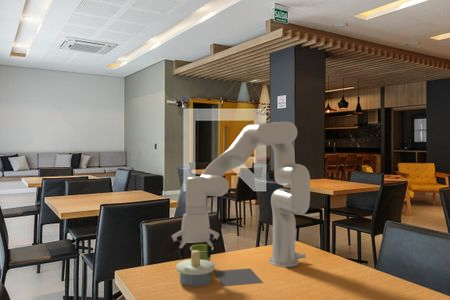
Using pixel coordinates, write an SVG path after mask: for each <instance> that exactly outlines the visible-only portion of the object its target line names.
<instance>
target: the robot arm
mask: <svg viewBox="0 0 450 300" xmlns="http://www.w3.org/2000/svg"><path fill="white" fill-rule="evenodd" d="M297 137H298V129H297V126H296V125H295V124H294V123H293V122H291V121H274V122H263V123H258V122H257V123H250V124H247V125H246V126H245V127H243V129H242V130H241V132H240V133H239V134H238V136H237V137H236V138H235V139H234V141H233V142H232V143H231V145H230V146H229V147H228V148H227V149H226V150H225V151H224V152H223V153H221V154H219V155H218V157H216V158H215V159H214V160H212V161H211V162H209V164H208V166H206V168H205V170H203V171H202V173H201V174H200V176H199V175H196V176H195V175H193V176H189V177H187V178H186V180H185V213H183V215H182V218H181V219H182V220H181V228H180V229H181V230H179V231H176V232H175V233H174V234H172V235H171V239H172V240H173V242H174V244H175V245H176V246H177V247H178V248H179V249H178V250H179V251H178V252H179V253H178V255H179V257H180V258H181V260H184V259H185V249H184V247H185V245H186V244H187V243H188V244H189V243H190V244H192V243H195V244H196V243H207V244H206V245H207V256H208V257H209V258H210V255H211V256H212V254H213V253H212V252H213V250H212V247H214V246H213V245H214V244H215V243H216V242H217V240H218V238H219V237H220V233H219V232H217V231H216V230H213V229H211V228H210V227H211V226H210V218H209V213H208V212H209V211H211V206H207V198H208V196H209V197H222V196H224V195H226V194H227V192H228V191H229V188H230V185H229V184H230V183H229V181H228V179H226V178H225V177H224V175H225V174H226V173H228V172H229V171H232V170H233V169H236V168H239V167H241V166H242V165H245V163H246V162H247V161H248V159H249V158H250V157H251V155H252V154H253V152H255V150H256V149H257V147H259V146H271V148H272V150H273V154H274V155H273V157H274V168H273V170H274V181H275V182H276V183H277V184H278V185H281V186H285V187H289V189H288V188H277V189H275V190H274V191H273V192H272V194H271V197H270V205H271V211H272V251H271V252H272V256H270V257H269V258H268V262H269V264H271V265H273V266H276V267H280V268H281V267H283V268H294V267H297V266H298V265H299V259H306V258H307V254H306V253H301V252H296V225H297V224H296V217H295V215H298V216H300V215H305V214H306V213H307V211H308V210H309V208H310V202H311V176H310V171H309V170H308V169H307V167H306V166H305V165H302V164H300V163H296V158H295V157H296V156H295V148H294V146H293V143H292V142H294V141H295V140H296V139H297ZM211 235H213V237H212V238H211ZM178 237H180V239H181V240H180V241H179V240H178V239H177V238H178ZM210 259H211V258H210Z"/></svg>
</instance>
